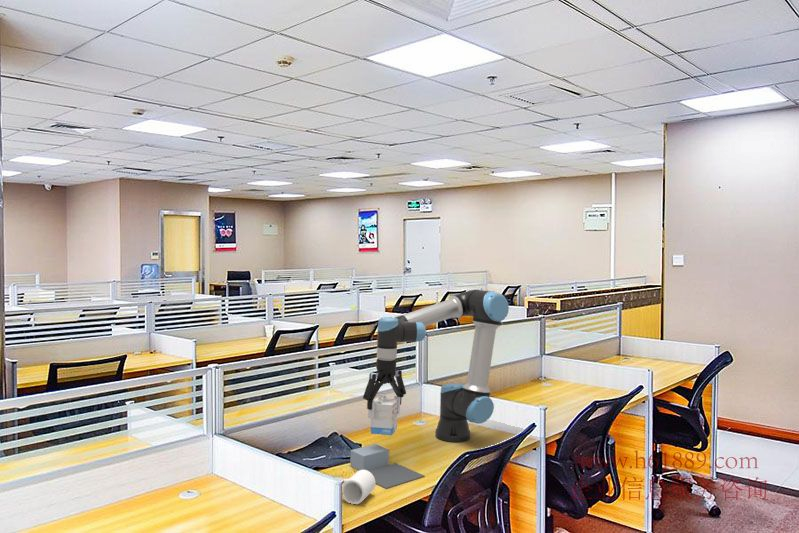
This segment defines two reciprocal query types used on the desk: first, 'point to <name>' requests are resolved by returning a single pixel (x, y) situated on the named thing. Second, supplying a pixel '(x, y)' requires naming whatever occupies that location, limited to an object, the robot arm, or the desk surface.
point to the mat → (394, 475)
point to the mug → (358, 486)
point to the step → (369, 457)
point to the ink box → (384, 416)
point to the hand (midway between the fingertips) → (384, 415)
